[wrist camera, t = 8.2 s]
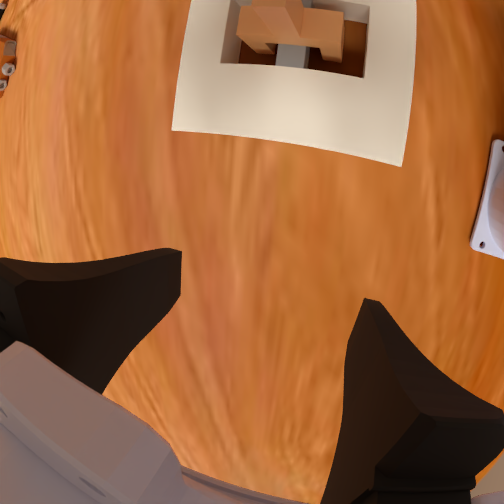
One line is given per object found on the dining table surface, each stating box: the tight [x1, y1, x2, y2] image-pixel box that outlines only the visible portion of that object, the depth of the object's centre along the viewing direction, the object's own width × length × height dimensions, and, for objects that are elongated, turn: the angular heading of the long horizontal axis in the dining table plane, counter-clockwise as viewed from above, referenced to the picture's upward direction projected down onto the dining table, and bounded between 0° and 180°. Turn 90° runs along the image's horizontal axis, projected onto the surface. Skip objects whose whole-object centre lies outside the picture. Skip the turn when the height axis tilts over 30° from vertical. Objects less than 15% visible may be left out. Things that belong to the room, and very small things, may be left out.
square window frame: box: [172, 0, 416, 167], centre depth 15 cm, size 14×14×3 cm
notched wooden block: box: [236, 0, 345, 63], centre depth 12 cm, size 6×2×8 cm, turn 82°
